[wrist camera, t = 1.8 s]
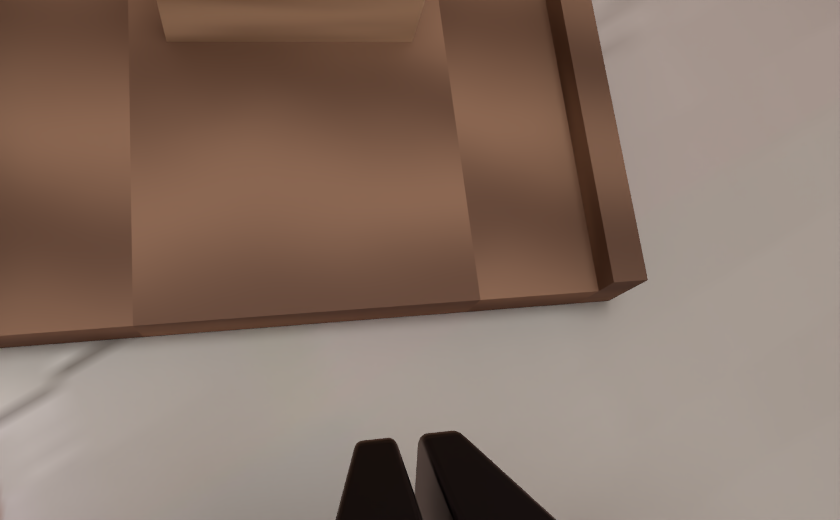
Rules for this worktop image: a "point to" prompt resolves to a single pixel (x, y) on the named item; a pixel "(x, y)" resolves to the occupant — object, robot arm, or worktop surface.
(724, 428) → the worktop surface
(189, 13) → the step block
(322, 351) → the worktop surface
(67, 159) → the brown wooden tray
